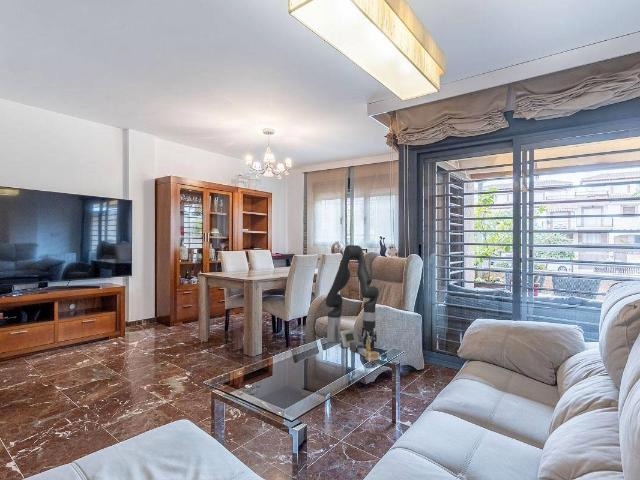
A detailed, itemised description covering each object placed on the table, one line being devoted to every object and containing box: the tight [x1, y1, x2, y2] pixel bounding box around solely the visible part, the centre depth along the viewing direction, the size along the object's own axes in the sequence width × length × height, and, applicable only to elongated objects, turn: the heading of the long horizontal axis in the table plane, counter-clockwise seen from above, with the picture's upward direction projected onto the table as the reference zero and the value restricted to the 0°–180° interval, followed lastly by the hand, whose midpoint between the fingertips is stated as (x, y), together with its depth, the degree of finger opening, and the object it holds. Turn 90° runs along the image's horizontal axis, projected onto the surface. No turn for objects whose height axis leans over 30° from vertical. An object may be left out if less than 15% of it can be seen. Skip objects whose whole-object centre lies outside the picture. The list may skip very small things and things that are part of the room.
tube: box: [356, 338, 372, 357], centre depth 221 cm, size 18×3×10 cm, turn 21°
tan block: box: [364, 350, 380, 362], centre depth 212 cm, size 5×7×4 cm
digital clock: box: [339, 328, 360, 349], centre depth 243 cm, size 16×9×11 cm, turn 124°
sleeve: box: [349, 341, 365, 353], centre depth 231 cm, size 7×6×5 cm
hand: (368, 346), depth 217 cm, fingers open, 8 cm apart
